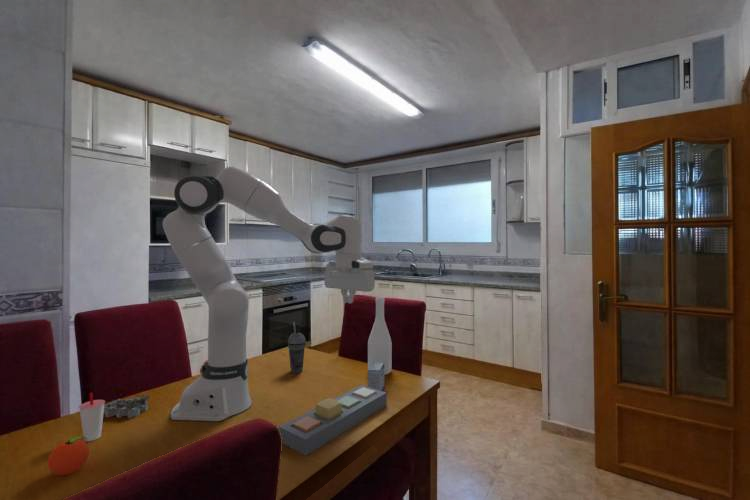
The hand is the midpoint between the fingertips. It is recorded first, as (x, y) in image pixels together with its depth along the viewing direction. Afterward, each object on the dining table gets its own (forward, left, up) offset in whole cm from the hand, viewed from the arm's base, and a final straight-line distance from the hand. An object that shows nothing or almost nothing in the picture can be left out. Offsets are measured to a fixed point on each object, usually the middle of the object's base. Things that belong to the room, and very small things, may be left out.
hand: (348, 302), depth 121 cm
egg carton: (-67, -6, -31) cm, 74 cm away
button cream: (+4, -11, -30) cm, 32 cm away
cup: (-68, -20, -31) cm, 77 cm away
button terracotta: (-13, -28, -30) cm, 43 cm away
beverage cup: (-19, +23, -31) cm, 43 cm away
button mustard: (-7, -23, -28) cm, 36 cm away
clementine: (-64, -34, -31) cm, 79 cm away
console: (-4, -20, -31) cm, 37 cm away
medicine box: (+10, 0, -31) cm, 33 cm away
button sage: (-1, -17, -30) cm, 34 cm away
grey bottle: (+14, +18, -31) cm, 39 cm away
